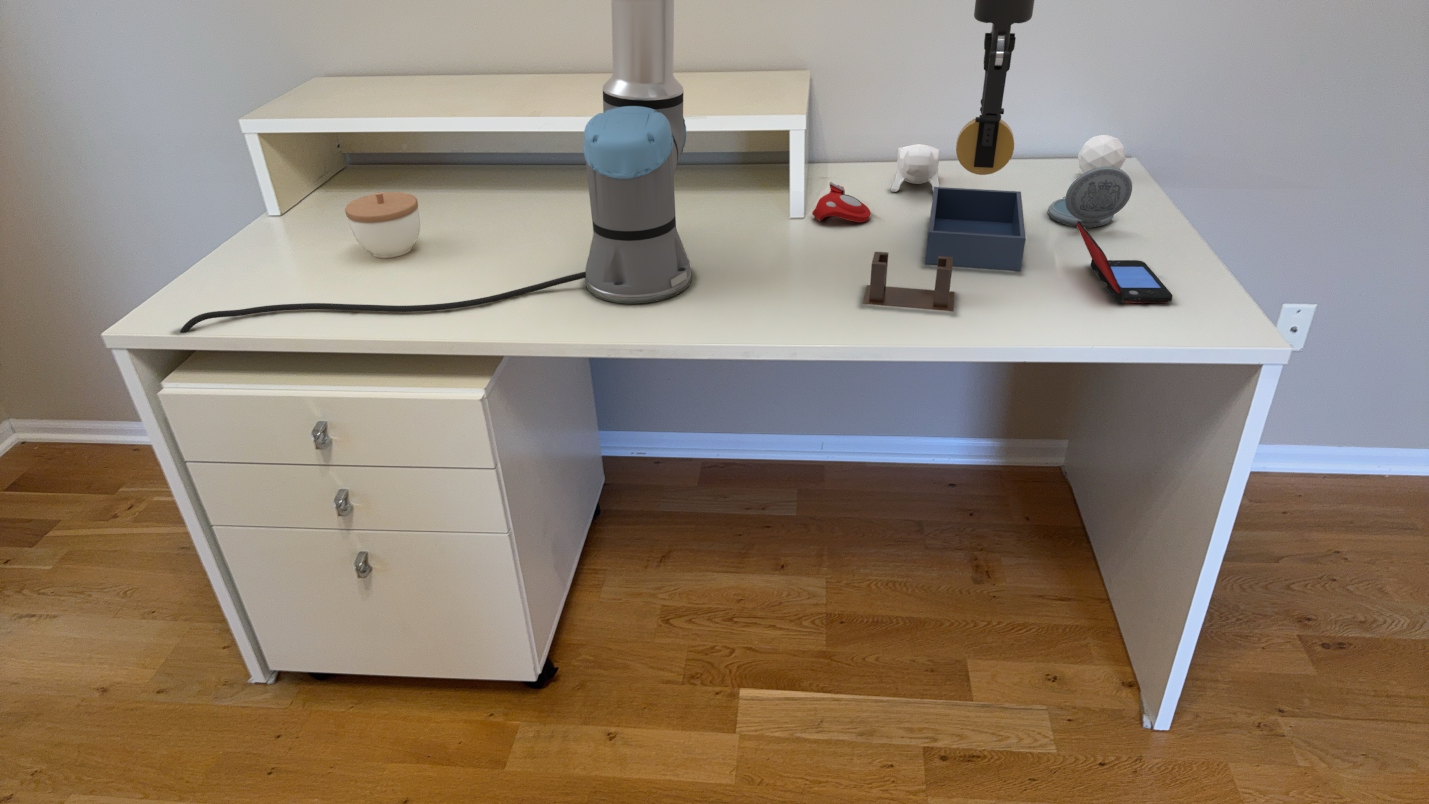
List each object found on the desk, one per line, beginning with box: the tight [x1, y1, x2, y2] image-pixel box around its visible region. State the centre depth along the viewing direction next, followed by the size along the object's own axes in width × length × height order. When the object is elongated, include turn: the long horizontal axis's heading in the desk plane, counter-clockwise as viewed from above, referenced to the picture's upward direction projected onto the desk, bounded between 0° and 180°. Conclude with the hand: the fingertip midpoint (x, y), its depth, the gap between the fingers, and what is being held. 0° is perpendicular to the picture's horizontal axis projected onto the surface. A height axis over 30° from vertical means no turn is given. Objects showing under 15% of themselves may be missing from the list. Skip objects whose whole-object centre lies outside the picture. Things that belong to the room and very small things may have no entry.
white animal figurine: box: [890, 143, 942, 193], centre depth 159 cm, size 8×8×15 cm
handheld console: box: [1077, 221, 1174, 304], centre depth 124 cm, size 12×11×7 cm
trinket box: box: [344, 191, 421, 259], centre depth 141 cm, size 11×11×9 cm
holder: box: [861, 251, 955, 312], centre depth 122 cm, size 12×6×6 cm, turn 76°
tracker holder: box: [811, 181, 871, 223], centre depth 151 cm, size 12×4×10 cm
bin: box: [924, 186, 1026, 272], centre depth 138 cm, size 19×13×6 cm
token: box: [955, 117, 1015, 176], centre depth 131 cm, size 2×8×8 cm, turn 76°
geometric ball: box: [1077, 133, 1126, 174], centre depth 161 cm, size 8×8×8 cm
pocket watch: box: [1047, 167, 1133, 228], centre depth 144 cm, size 10×11×15 cm
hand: (983, 163), depth 132 cm, fingers closed on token, 2 cm apart
